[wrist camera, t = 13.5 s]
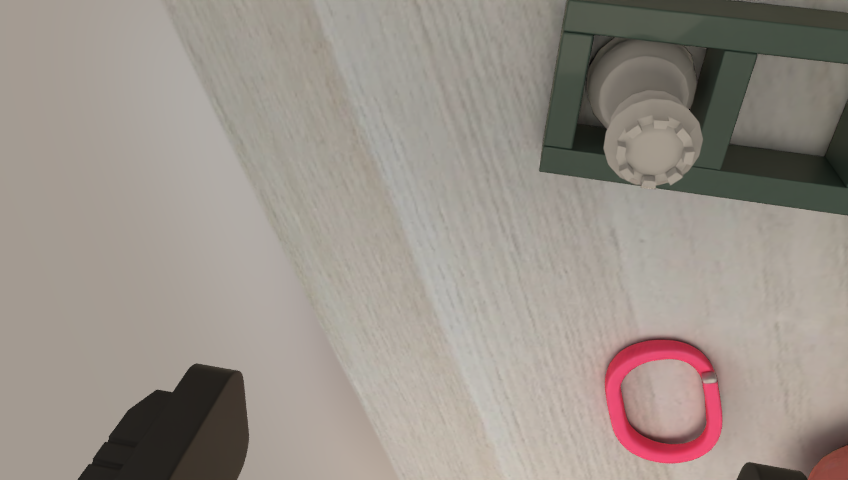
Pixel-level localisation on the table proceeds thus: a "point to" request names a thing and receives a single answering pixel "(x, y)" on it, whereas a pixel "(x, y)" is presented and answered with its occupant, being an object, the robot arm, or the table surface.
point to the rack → (705, 95)
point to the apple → (832, 466)
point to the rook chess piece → (646, 109)
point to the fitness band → (619, 421)
